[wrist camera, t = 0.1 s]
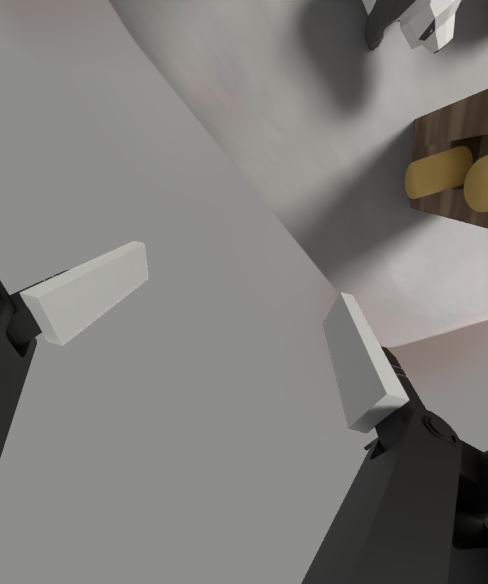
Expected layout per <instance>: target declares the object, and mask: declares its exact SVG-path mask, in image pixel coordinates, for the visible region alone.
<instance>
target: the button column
mask: <svg viewBox="0 0 488 584" xmlns="http://www.w3.org/2000/svg"><path fill="white" fill-rule="evenodd" d="M458 146H465V147H467V148H468V149H469V150H470V151H471V154H472V158H473V164H474V163H475V162H476V161H477V160H479V159H480V158H482V157H484V156H486V155H488V89H486V90H484V91H482V92H479V93H477V94H474V95H472V96H470V97H467V98H465V99H462V100H460V101H458V102H455V103H453V104H450V105H448V106H446V107H443V108H441V109H438V110H436V111H434V112H431V113H429V114H426V115H424V116H422V117H419V118H417V119H415V137H414V155H413V162H414V161H417V160H420V159H423V158H426V157H429V156H432V155H435V154H438V153H441V152H444V151H447V150H449V149H452V148H455V147H458ZM411 208H413V209H417V210H421V211H424V212H428V213H432V214H436V215H439V216H443V217H447V218H450V219H454V220H458V221H462V222H465V223H469V224H473V225H477V226H480V227H484V228H488V212H478V211H475V210H473V209H472V208H471V207H470V206H469V205H468V204H467V202H466V200H465V197H464V183H463V184H462V185H460V186H457V187H454V188H451V189H447V190H444V191H440V192H437V193H433V194H430V195H426V196H423V197H420V198H416V199H411Z"/></svg>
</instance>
